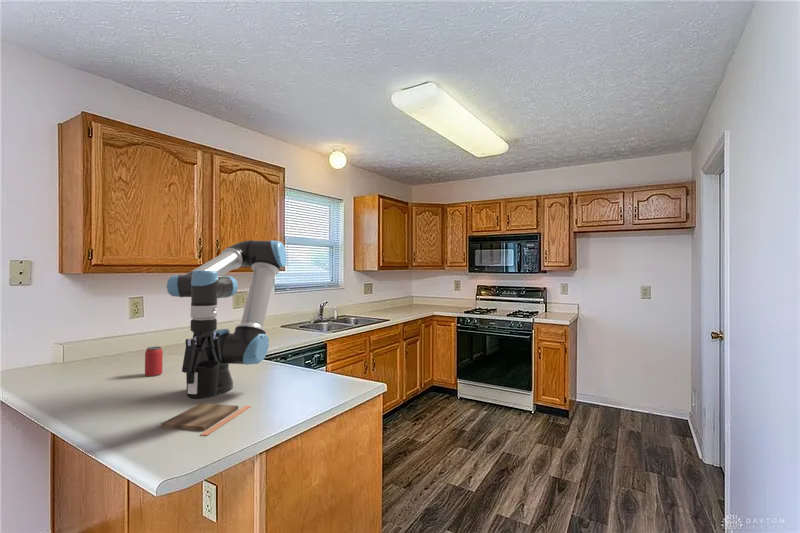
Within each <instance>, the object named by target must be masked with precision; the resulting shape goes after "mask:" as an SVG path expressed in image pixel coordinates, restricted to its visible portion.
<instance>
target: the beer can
mask: <svg viewBox="0 0 800 533" xmlns="http://www.w3.org/2000/svg"><path fill="white" fill-rule="evenodd" d="M163 353H164V352H163V349H162V347H161V346H149V347H146V350H145V353H144V356H145V357H144V376H146V377H158V376H161V375H162V374H163Z"/></svg>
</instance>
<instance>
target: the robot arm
mask: <svg viewBox="0 0 800 533" xmlns="http://www.w3.org/2000/svg"><path fill="white" fill-rule="evenodd" d="M287 258H288V257H287V251H286V247H285V245H284V244H283V243H282V241H280V240H272V239H271V240H252V239H251V240H244V241H241V242H238V243H235V244H232V245H230V246H228V247H226V248H225V249H223V250H222V251H221V253H220V254H219V255H216V257H214V258H212V259H210V260H209V261H207V262H205V263H203V264H202V265H200V266H198V267H196V268H194V269H193V270H191V271H189V272H187V273H185V274H183V275H182V274H177V275H175V274H174V275H171V276H170V277H169V278H168V280H167V282H166V290H167V293H168V294H169V296H172V297H177V298H178V297H179V298H190V299H191V302H190V318H191V320H190V329H189V330H190V331H191V332H192V333H193V336H192V337H191V338H186V339H185V349H184V357H183V363H182V368H181V372H182V373H184V374H185V373H187V380H186V384H187V383H188V394H197V378H198V372H196V369H197V365H198V363H200V362H202V361H208V360H212V361H218V362H219V374H218V389H217V393H216V395H219V394H222V393H226V392H229V391H231V390H232V389H234V381H233V378H232V375H231V371H230V367H229V366H230V365H246V366H249V365H259V364H260V363H261V362H262V361H264V359H265V357H266V356H267V353H268V351H269V347H270V344H269V342H270V339H269V336H268V335H267V334H266V333H267V332H266V330H265V328H264V324H265V319H266V315H267V309H268V305H269V302H270V298H271V297H270V296H271V292H272V287H273V283H274V278H275V276H276V275H278V274H279V273H280V268H281V269H282V268H284V267H286V265H287ZM244 267H246V268H247V267H249V268H251V270H252V271H253V273H252V278H251V280H250V284H249V288H248V292H247V298H246V301H245V306H244V309H243V314H242V317H241V322H240V324H238V325H236V326H235V328H234V332H230V329H229V328H223V329H222V328H221V329H217V327H218V326H217V324H218V319H217V318H216V317H218V314H217V313H218V312H217V311H218V299H225V298H226V299H227V298H229V297H233V296H235V294H237V292H238V288H239V284H238V280H236V279H235V277H233V276H229V275H226V274H227V273H229V272H231V271H232V270H234V271H235V270H238V269H239V268H244ZM229 364H230V365H229ZM192 368H193V369H192Z"/></svg>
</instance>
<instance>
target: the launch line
mask: <svg viewBox="0 0 800 533" xmlns="http://www.w3.org/2000/svg"><path fill="white" fill-rule="evenodd" d="M248 408H249V409H250V408H252V405H244V406H243V407H241V408H240V409H238V410H236V411H235V412H233V413H232V414H230V415H228V416H227V417H225V418H224V419H222V420H221V421H219V422H217V423H216V424H214V425H213V426H211V427H209V428H208V429H206V430H205V431H202V433H201V434H200V437H201V436H203V437H208V436H209V435H210V434H212V433H213V432H215V431H216V430H218V429H220V428H222V427H223V426H224V425H227V423H229V422H231V421H232V420H233V419H235V418H237V417H239V416H240V415H241V414H242V412H243V413H244V412H246V411H247V410H249V409H248ZM245 410H246V411H245Z"/></svg>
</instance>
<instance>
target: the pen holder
mask: <svg viewBox="0 0 800 533" xmlns="http://www.w3.org/2000/svg"><path fill="white" fill-rule="evenodd" d="M192 369H193V368H192ZM196 372H198V378H197V394H188V383H187V382H186V396H187V398H189V399H191V400H203V399H208V398H212V397H214V396H216V395H217V394H216V393H217V389H218V374H219V362H218V361H212V360H208V361H202V362H200V363H198V365H197V369H196ZM185 375H186V377H185V378H186V381H187V373H186V374H185Z"/></svg>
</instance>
